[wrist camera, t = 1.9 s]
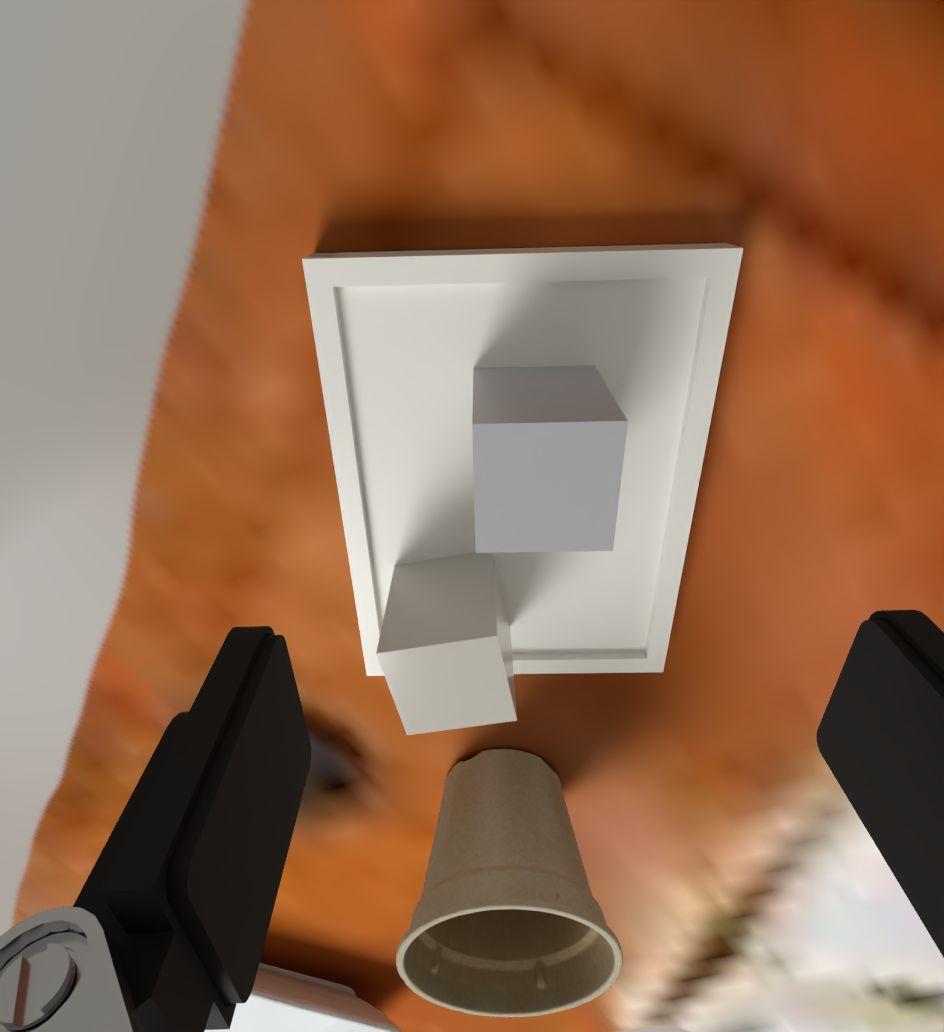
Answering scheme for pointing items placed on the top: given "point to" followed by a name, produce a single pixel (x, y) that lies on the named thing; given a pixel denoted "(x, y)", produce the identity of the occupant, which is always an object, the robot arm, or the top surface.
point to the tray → (304, 1006)
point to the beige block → (448, 644)
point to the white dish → (449, 436)
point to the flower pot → (507, 898)
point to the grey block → (545, 459)
